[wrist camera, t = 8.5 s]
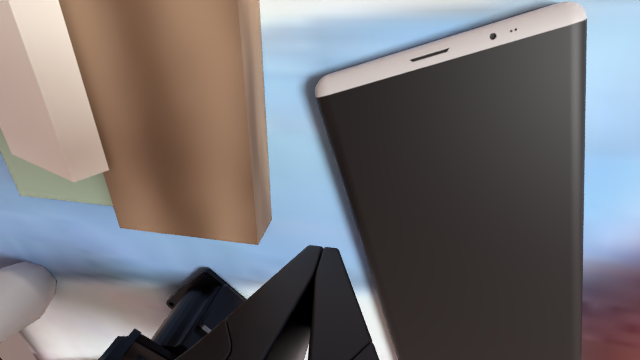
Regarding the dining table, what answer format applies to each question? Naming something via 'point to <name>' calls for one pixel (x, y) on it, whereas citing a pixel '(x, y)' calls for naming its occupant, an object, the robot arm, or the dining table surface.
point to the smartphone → (471, 186)
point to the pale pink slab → (45, 92)
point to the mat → (53, 181)
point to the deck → (178, 112)
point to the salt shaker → (23, 296)
